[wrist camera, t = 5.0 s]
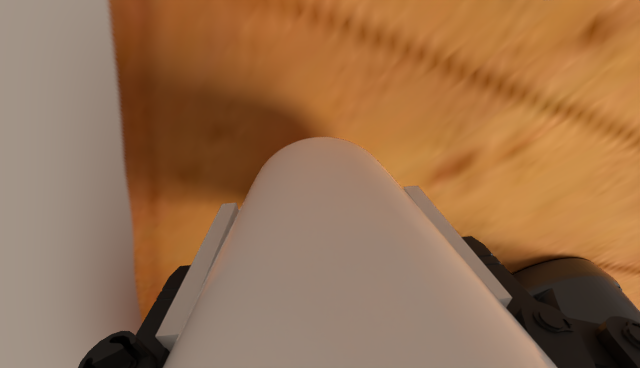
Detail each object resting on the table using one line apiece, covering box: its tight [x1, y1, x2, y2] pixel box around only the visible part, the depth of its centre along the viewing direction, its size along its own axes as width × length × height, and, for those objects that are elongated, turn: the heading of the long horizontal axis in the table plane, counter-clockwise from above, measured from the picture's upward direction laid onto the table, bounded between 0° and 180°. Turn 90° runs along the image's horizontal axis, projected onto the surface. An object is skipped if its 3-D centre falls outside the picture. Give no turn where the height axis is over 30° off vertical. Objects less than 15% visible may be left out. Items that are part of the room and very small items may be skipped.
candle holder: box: [163, 137, 558, 368], centre depth 9 cm, size 10×10×12 cm
